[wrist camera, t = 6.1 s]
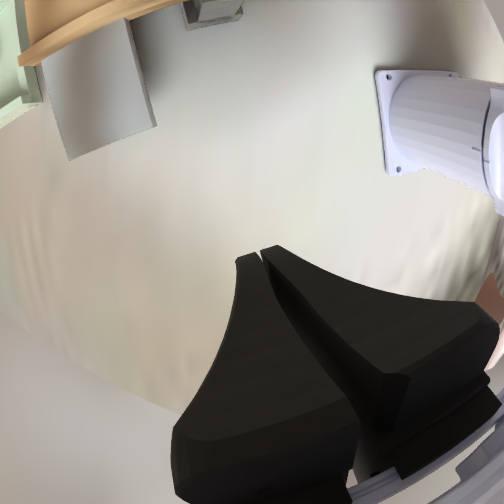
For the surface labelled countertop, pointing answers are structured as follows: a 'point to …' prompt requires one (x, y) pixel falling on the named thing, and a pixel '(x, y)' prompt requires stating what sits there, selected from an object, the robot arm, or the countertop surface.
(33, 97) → the dish
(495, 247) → the countertop surface
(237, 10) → the fulcrum
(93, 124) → the lever
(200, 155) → the countertop surface
